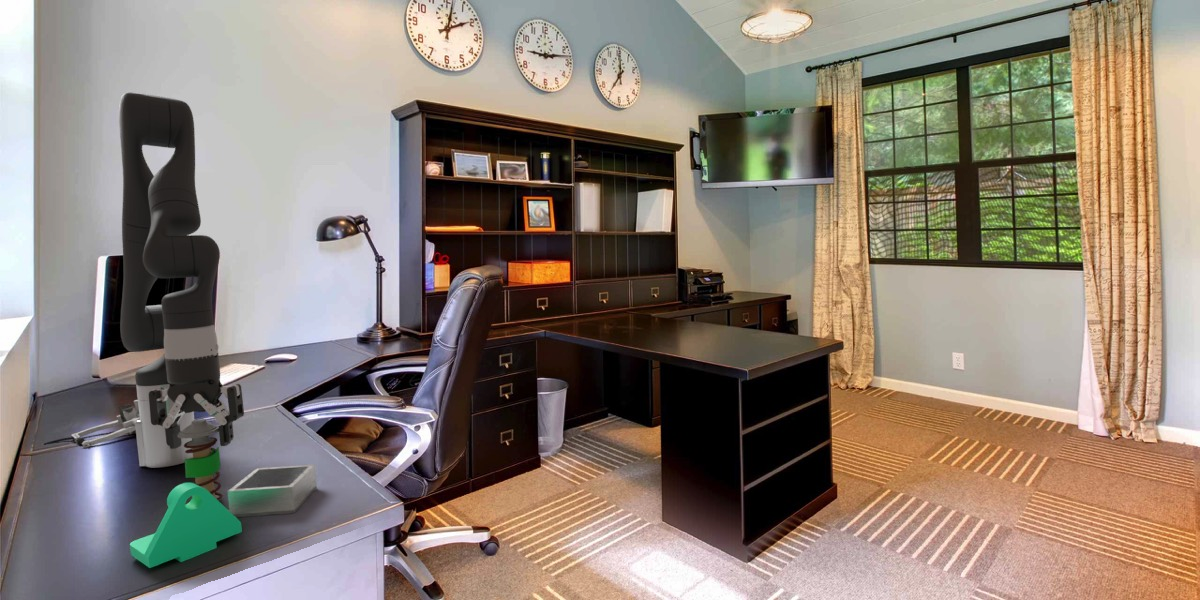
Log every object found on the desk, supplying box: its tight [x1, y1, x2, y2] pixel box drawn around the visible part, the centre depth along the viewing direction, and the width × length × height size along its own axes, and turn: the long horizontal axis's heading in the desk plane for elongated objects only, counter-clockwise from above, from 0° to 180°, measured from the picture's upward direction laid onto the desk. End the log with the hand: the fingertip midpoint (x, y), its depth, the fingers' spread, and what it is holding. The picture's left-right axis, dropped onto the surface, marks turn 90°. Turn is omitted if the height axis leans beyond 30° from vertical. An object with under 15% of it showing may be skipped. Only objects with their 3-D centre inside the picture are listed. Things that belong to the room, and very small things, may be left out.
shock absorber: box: [177, 418, 224, 501], centre depth 104 cm, size 6×6×15 cm
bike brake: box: [43, 399, 140, 449], centre depth 144 cm, size 14×7×20 cm
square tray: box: [227, 464, 318, 518], centre depth 104 cm, size 10×10×4 cm
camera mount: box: [129, 482, 243, 569], centre depth 89 cm, size 12×8×10 cm, turn 145°
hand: (201, 446), depth 103 cm, fingers open, 7 cm apart
